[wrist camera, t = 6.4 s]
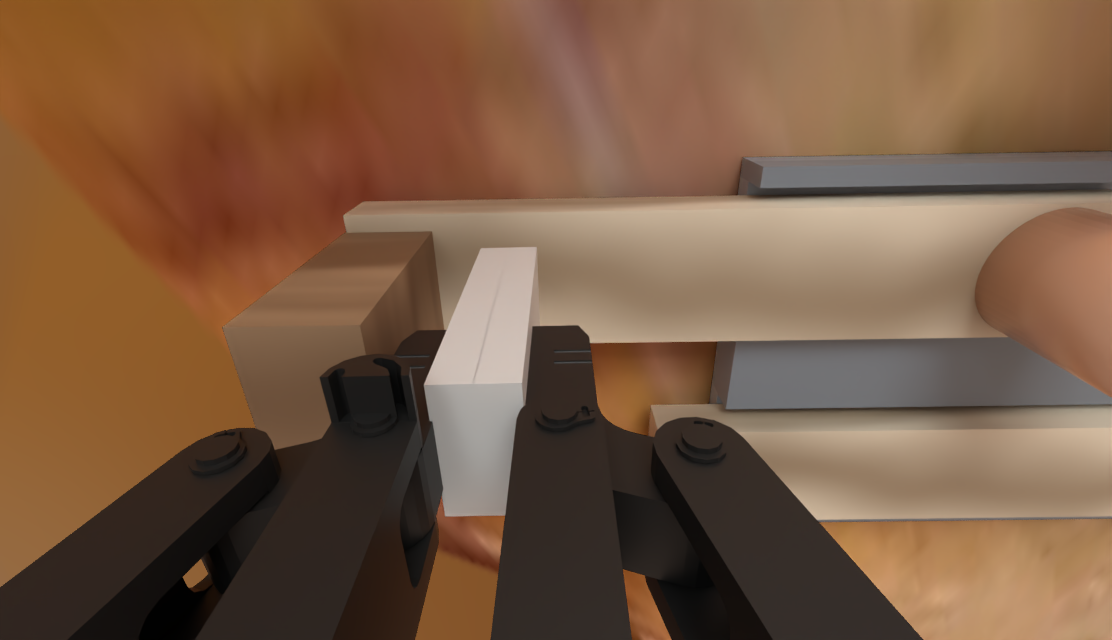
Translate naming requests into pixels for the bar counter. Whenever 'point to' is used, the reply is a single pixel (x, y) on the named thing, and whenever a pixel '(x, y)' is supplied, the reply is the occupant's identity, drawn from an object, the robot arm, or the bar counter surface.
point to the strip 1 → (633, 276)
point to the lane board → (905, 364)
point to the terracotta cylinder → (1055, 291)
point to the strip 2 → (930, 458)
